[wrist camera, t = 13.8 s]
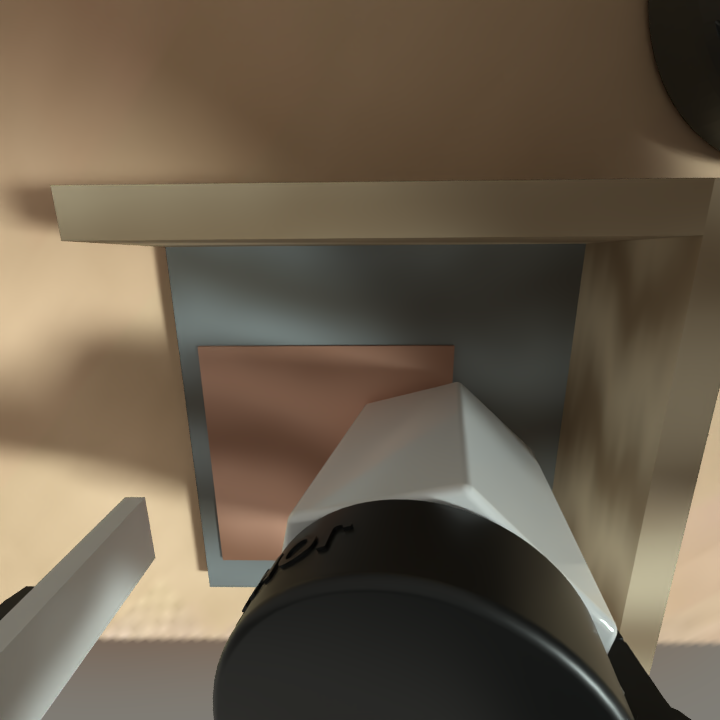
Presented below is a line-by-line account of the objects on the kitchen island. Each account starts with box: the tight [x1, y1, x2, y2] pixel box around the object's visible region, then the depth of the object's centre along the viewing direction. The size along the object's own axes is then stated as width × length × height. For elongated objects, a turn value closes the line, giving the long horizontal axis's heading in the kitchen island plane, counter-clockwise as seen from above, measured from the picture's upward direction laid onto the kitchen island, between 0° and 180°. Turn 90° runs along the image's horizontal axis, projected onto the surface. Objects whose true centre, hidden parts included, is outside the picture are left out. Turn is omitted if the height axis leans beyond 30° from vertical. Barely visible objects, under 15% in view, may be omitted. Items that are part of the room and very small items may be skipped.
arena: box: [50, 178, 720, 675], centre depth 17 cm, size 20×20×7 cm
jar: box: [213, 382, 634, 720], centre depth 13 cm, size 9×8×12 cm
